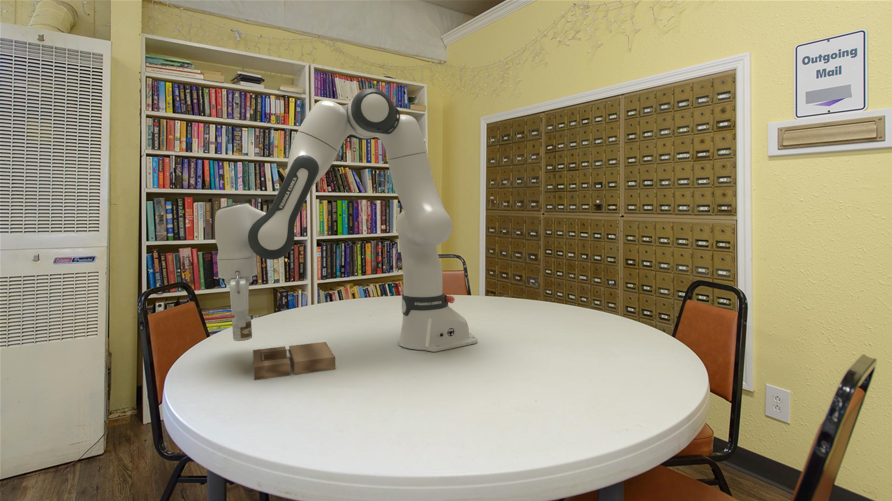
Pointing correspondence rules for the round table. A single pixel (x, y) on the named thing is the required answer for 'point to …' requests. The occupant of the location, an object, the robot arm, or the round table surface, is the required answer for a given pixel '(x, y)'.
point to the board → (292, 360)
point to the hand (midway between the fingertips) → (242, 323)
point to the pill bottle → (242, 329)
